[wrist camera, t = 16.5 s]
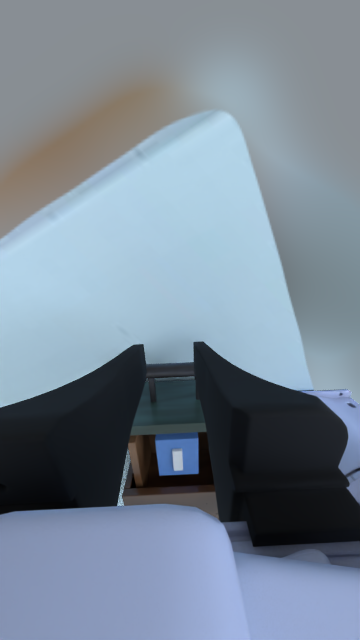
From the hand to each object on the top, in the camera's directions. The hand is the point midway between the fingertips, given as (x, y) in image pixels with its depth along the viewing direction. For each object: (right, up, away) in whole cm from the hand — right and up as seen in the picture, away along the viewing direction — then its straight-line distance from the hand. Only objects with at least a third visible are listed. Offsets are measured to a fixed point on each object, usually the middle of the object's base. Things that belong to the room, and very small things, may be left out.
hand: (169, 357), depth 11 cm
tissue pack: (0, -11, +12) cm, 16 cm away
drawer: (0, -9, +12) cm, 15 cm away
